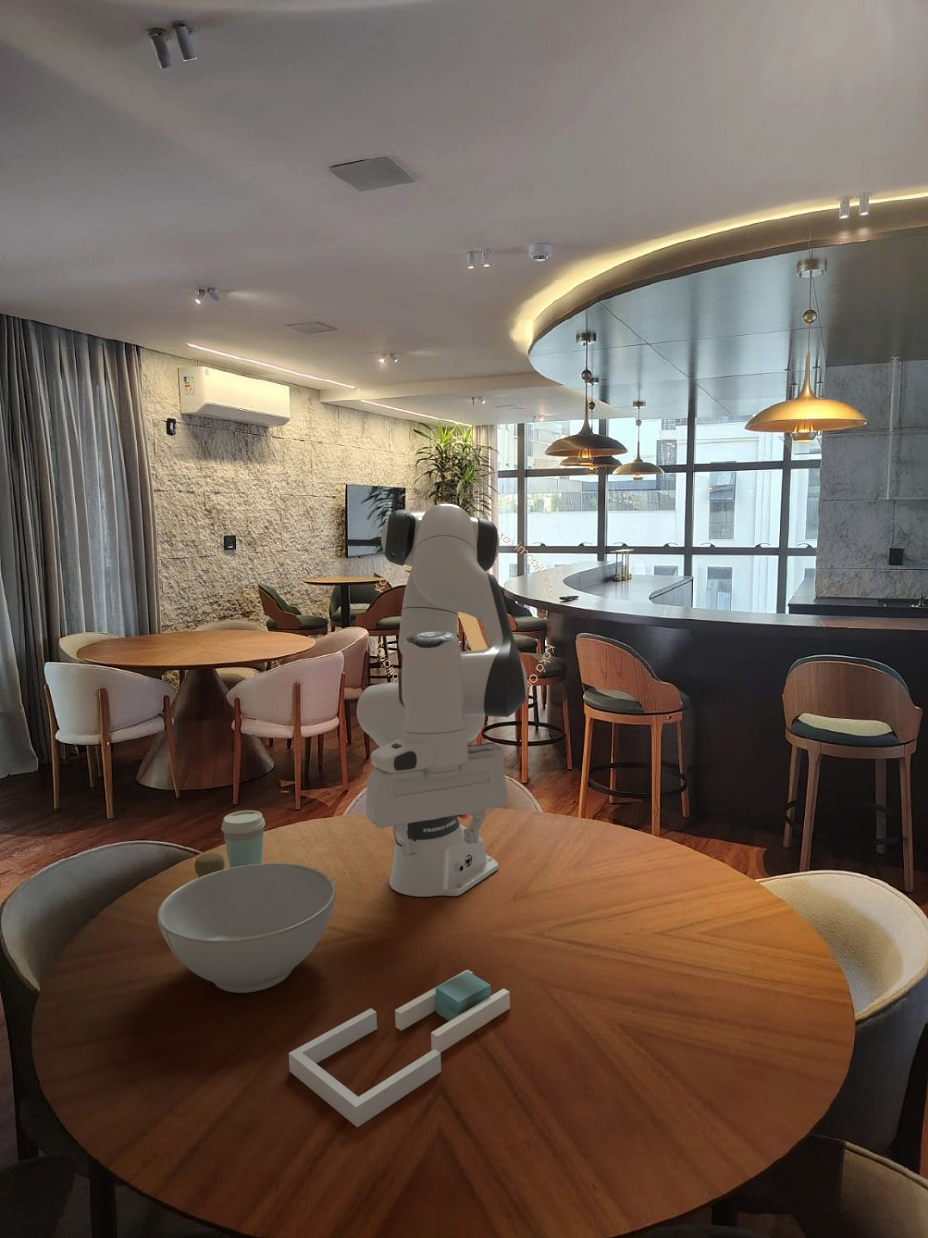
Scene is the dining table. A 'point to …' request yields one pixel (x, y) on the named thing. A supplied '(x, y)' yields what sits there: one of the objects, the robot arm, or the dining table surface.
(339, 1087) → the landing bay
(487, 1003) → the chute
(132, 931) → the dining table surface
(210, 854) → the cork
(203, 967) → the decorative bowl
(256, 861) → the coffee cup
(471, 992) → the teal block
